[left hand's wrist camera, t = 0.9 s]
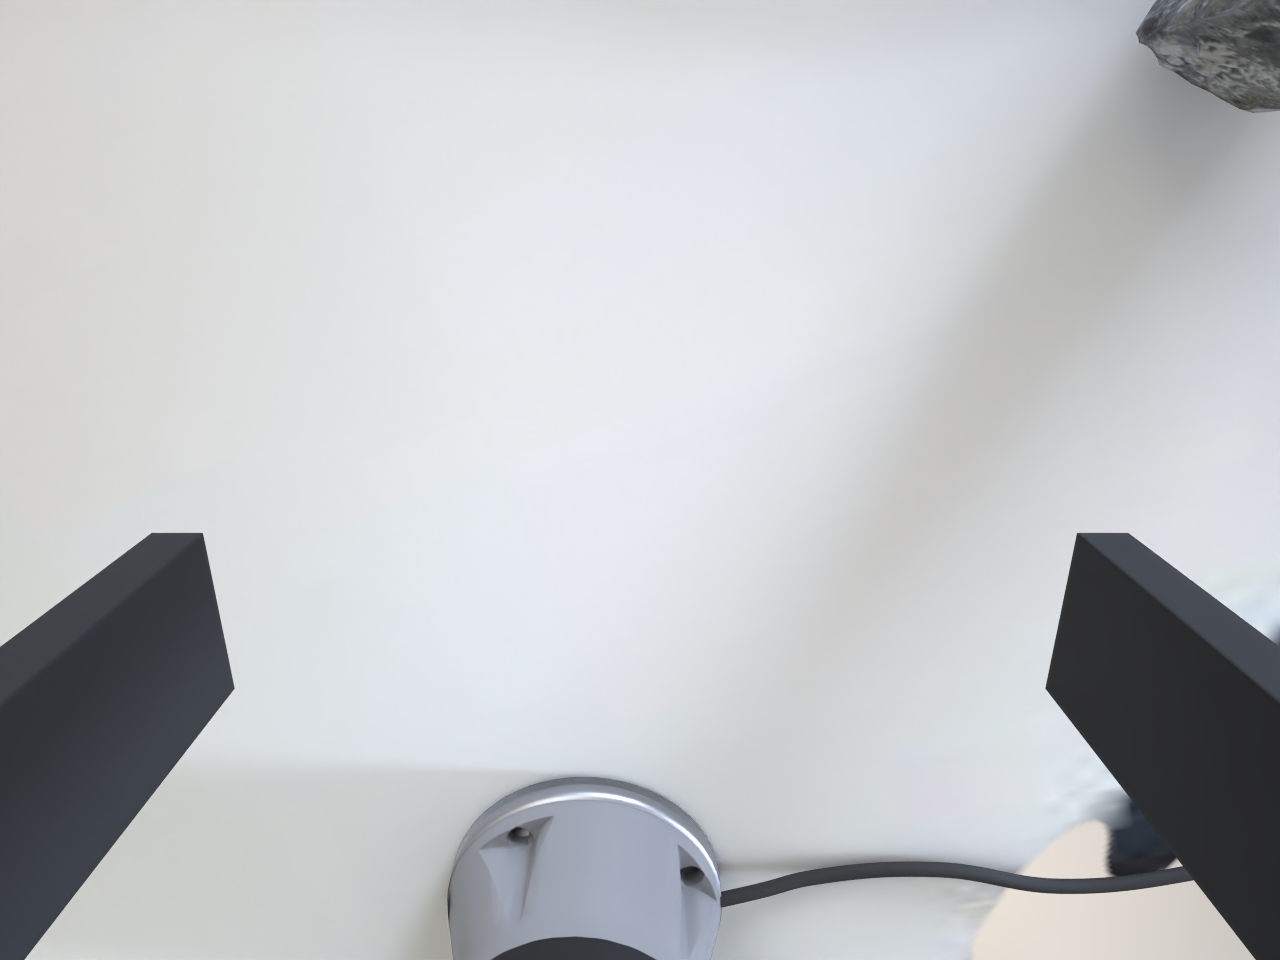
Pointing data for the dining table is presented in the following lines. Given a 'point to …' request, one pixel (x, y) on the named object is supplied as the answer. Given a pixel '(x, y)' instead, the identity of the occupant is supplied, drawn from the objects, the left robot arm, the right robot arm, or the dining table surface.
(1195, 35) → the concrete block
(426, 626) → the dining table surface
